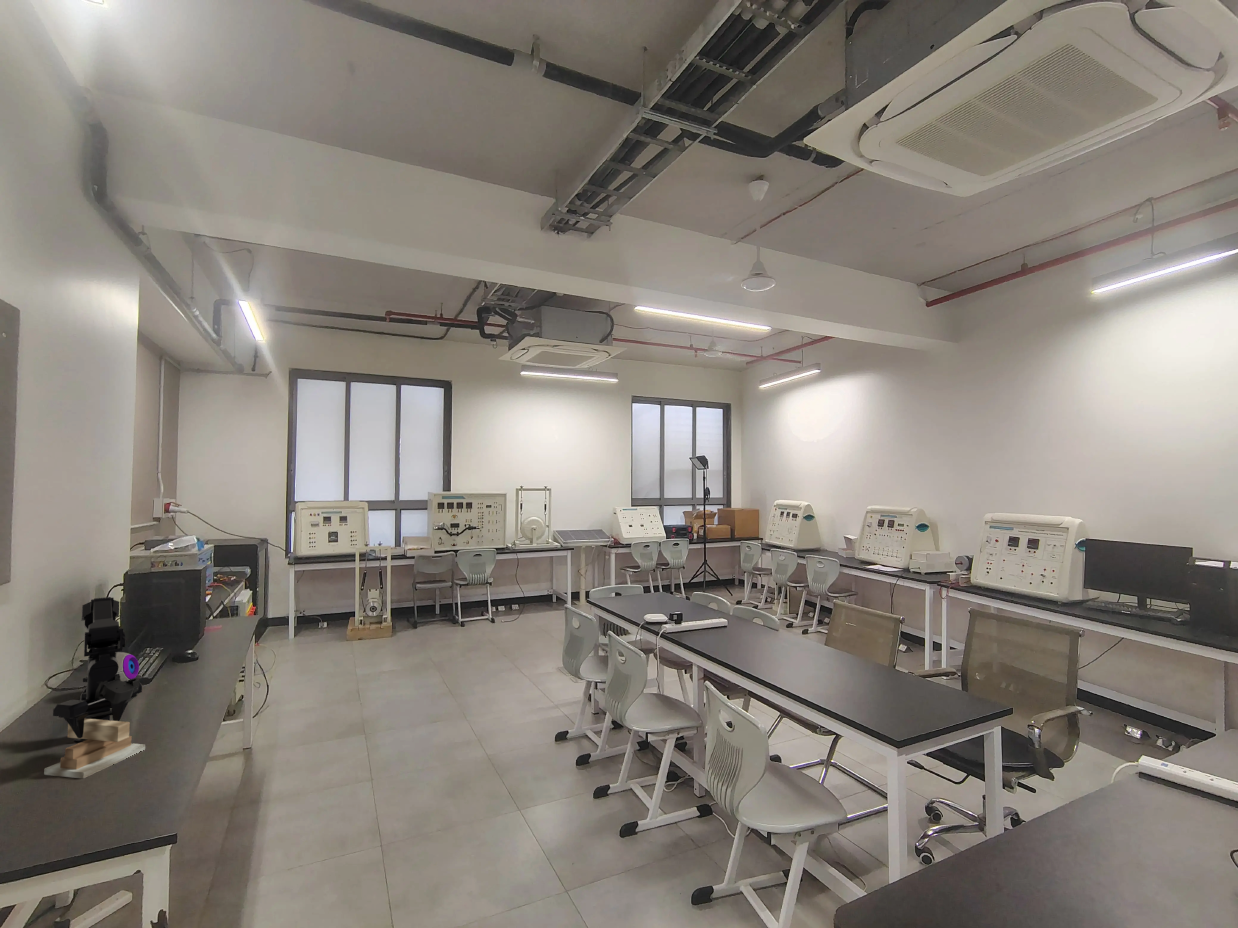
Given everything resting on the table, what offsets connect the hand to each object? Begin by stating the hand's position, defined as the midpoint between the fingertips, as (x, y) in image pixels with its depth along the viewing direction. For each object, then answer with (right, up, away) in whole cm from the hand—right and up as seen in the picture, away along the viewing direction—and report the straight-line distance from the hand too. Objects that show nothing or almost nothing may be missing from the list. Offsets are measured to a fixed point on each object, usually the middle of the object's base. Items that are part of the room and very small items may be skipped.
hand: (98, 730), depth 152 cm
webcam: (-39, -11, +48) cm, 63 cm away
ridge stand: (0, -8, 0) cm, 8 cm away
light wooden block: (0, -2, 0) cm, 2 cm away
